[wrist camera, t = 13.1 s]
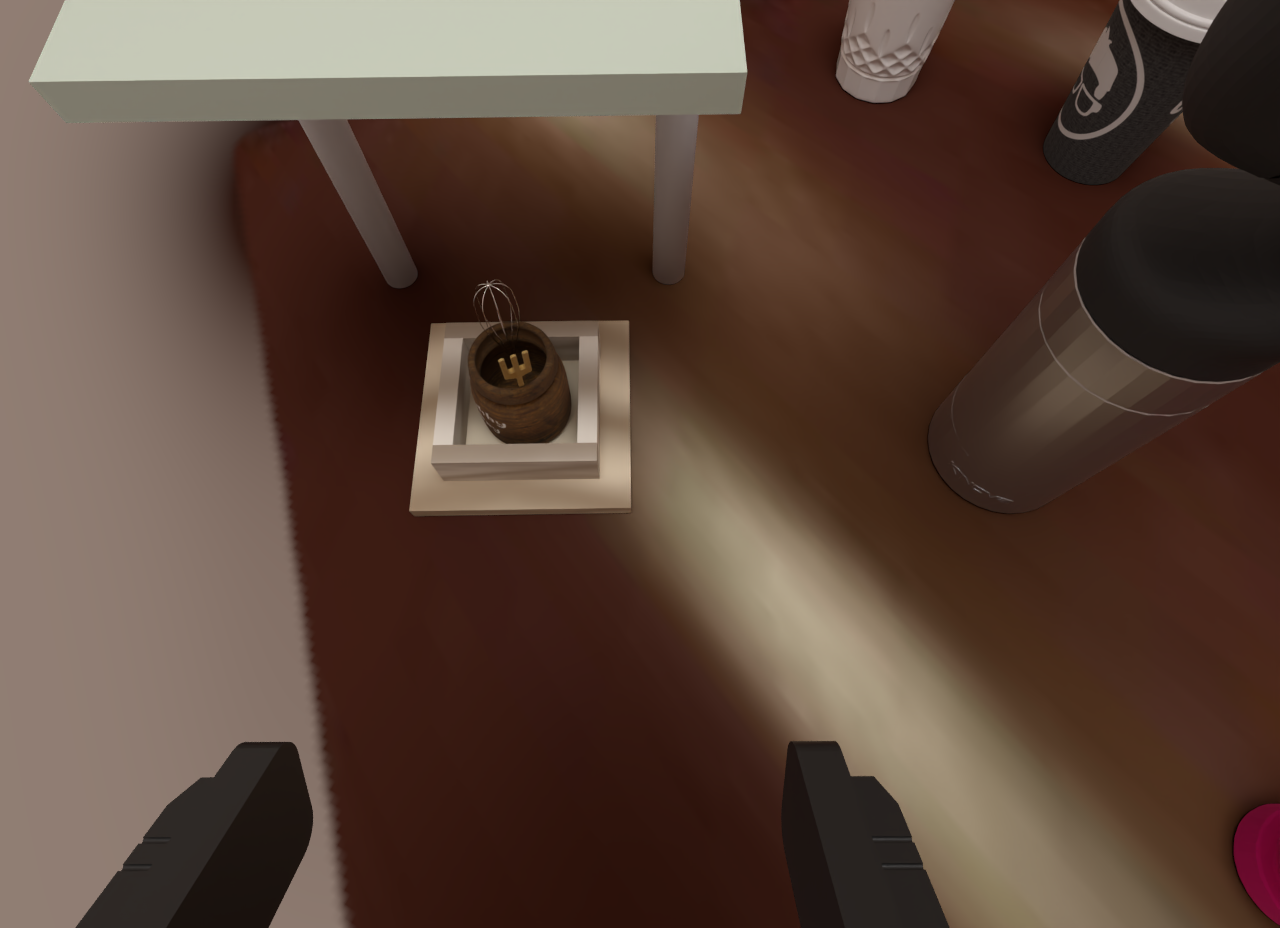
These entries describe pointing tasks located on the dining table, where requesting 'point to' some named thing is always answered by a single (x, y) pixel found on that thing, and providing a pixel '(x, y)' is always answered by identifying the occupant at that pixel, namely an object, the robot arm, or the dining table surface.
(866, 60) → the white cup
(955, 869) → the dining table surface
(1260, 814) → the pepper mill
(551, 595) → the dining table surface
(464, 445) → the socket block
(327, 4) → the white bench
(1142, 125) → the coffee cup
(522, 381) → the utensil holder
